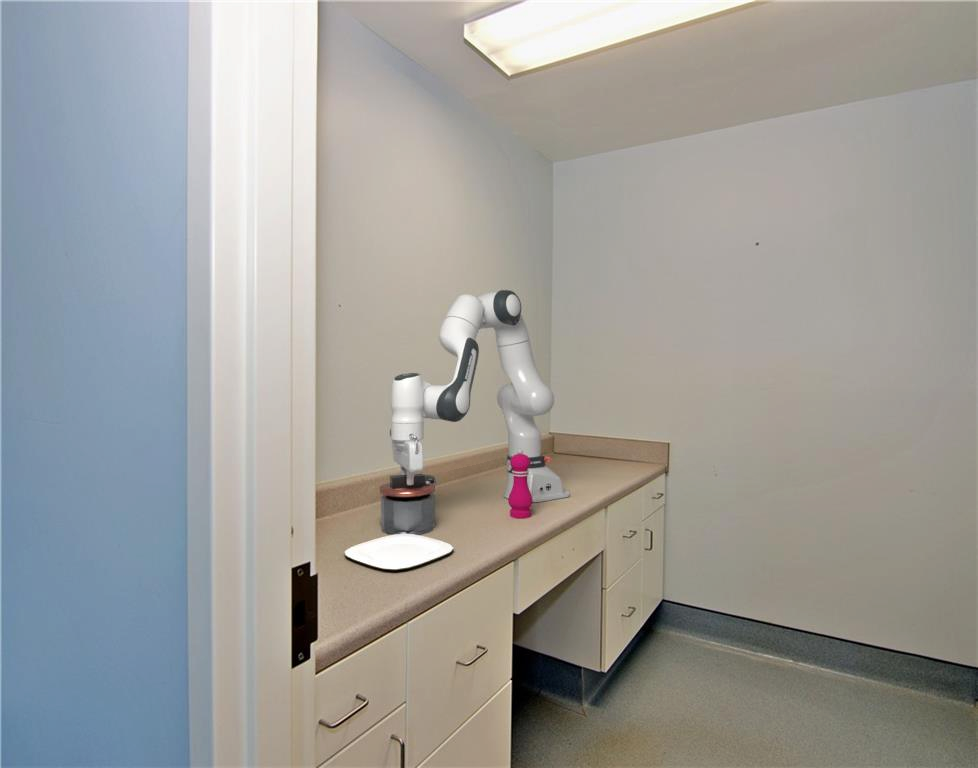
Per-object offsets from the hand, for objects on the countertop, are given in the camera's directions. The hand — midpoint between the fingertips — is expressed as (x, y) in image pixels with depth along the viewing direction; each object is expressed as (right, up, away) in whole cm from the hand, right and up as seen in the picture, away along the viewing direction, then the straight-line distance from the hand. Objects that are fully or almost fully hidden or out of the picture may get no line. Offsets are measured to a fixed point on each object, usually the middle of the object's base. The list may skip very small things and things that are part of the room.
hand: (407, 483), depth 152 cm
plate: (+1, -14, -21) cm, 25 cm away
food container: (0, -12, +24) cm, 27 cm away
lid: (0, -2, 0) cm, 2 cm away
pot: (-1, -12, +4) cm, 13 cm away
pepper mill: (+32, -12, +13) cm, 36 cm away
